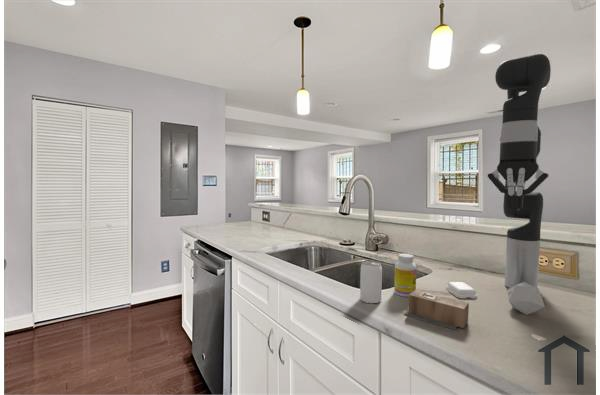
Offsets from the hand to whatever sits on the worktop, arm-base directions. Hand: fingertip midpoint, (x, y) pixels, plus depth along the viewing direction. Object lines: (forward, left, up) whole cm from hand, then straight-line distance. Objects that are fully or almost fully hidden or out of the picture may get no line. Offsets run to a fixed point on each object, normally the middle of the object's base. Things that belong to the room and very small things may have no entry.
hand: (515, 210), depth 78 cm
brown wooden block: (+8, -8, -27) cm, 29 cm away
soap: (-16, -15, -31) cm, 38 cm away
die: (-13, +2, -30) cm, 33 cm away
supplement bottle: (-3, -29, -30) cm, 42 cm away
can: (+9, -35, -30) cm, 47 cm away
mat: (+6, -16, -30) cm, 35 cm away
